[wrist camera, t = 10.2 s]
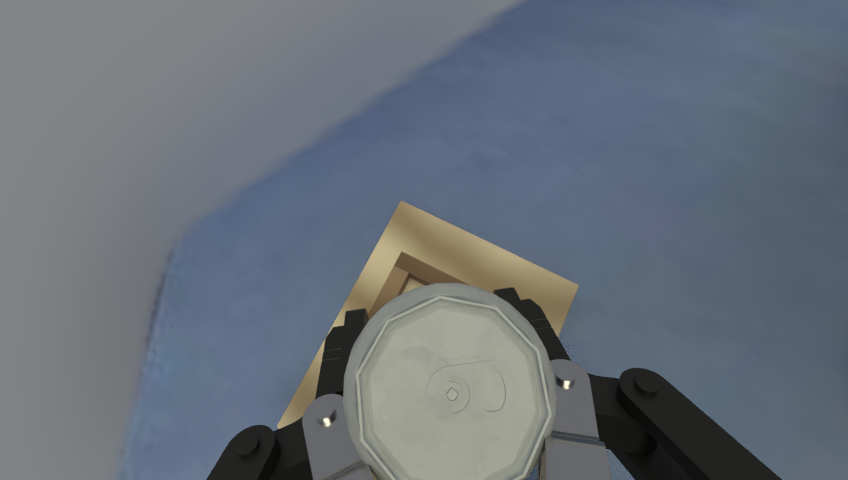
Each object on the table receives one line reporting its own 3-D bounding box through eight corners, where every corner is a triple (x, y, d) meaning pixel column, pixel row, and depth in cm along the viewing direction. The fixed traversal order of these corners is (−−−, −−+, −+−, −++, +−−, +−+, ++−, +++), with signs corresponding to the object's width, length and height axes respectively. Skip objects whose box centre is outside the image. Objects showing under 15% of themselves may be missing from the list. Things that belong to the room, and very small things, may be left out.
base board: (402, 207, 27) (399, 189, 24) (570, 288, 26) (592, 280, 22) (285, 421, 24) (262, 435, 20) (471, 528, 22) (480, 563, 19)
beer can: (384, 319, 20) (326, 289, 8) (474, 307, 20) (545, 262, 8) (393, 418, 18) (340, 552, 7) (489, 405, 19) (598, 515, 7)
